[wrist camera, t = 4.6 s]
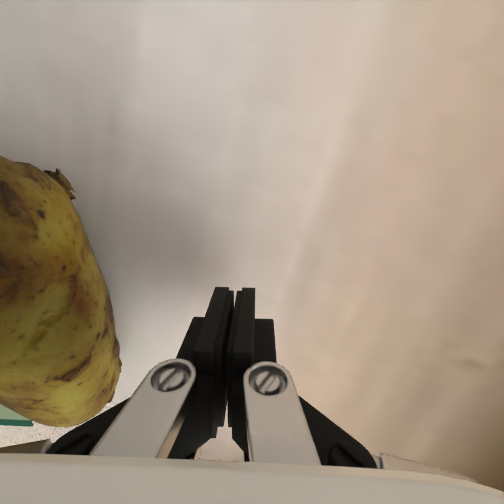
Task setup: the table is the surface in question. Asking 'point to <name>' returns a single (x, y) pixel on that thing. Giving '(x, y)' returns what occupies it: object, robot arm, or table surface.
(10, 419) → the towel
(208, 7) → the table surface
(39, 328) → the potato
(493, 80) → the table surface
